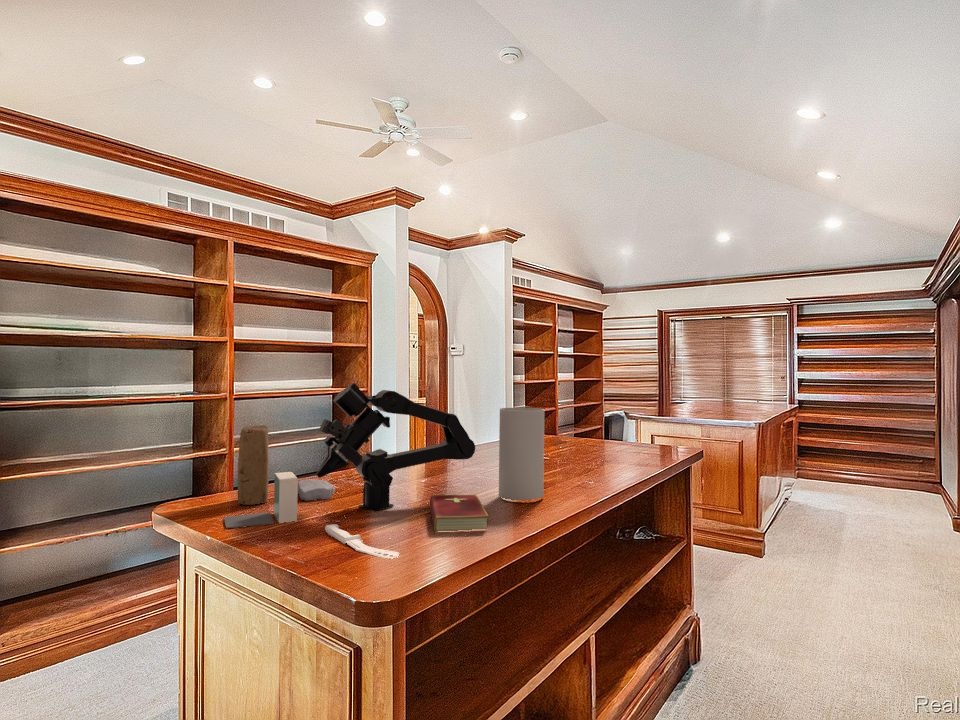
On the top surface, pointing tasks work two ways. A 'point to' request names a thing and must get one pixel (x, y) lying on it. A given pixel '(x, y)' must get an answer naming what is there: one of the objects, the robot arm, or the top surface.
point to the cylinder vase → (521, 453)
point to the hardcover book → (457, 512)
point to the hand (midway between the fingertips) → (317, 476)
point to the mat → (248, 520)
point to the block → (253, 465)
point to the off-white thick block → (285, 497)
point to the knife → (357, 542)
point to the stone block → (315, 489)
